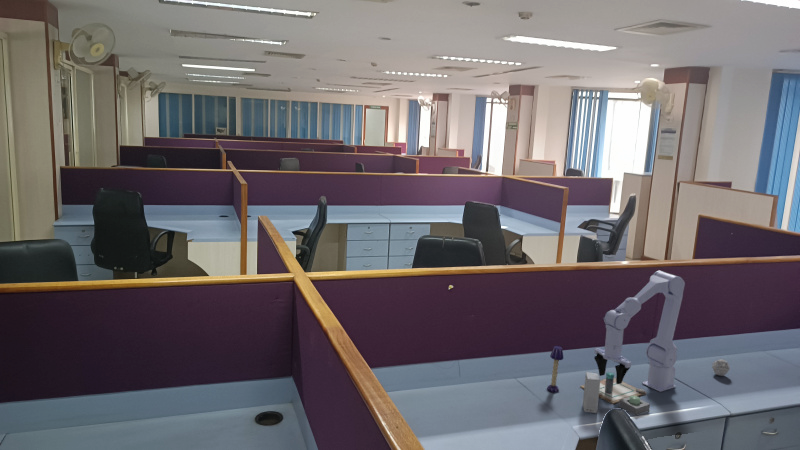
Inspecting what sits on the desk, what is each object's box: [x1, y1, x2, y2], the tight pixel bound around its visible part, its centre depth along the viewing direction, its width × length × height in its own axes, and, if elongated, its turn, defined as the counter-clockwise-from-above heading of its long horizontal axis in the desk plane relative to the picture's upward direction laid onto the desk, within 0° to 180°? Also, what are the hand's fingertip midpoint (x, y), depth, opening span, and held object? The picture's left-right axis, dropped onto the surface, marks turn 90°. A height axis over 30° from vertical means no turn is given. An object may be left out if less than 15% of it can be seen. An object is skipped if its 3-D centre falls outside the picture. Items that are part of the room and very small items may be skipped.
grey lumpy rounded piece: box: [711, 358, 730, 377], centre depth 227 cm, size 6×7×7 cm
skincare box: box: [582, 371, 601, 414], centre depth 196 cm, size 6×4×12 cm
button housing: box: [618, 397, 651, 416], centre depth 197 cm, size 7×7×2 cm
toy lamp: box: [546, 345, 564, 394], centre depth 208 cm, size 5×5×17 cm
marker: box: [605, 372, 615, 394], centre depth 208 cm, size 3×3×7 cm
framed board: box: [579, 377, 647, 405], centre depth 211 cm, size 18×15×1 cm
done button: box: [629, 396, 641, 406], centre depth 197 cm, size 3×3×3 cm
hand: (610, 379), depth 208 cm, fingers open, 7 cm apart
